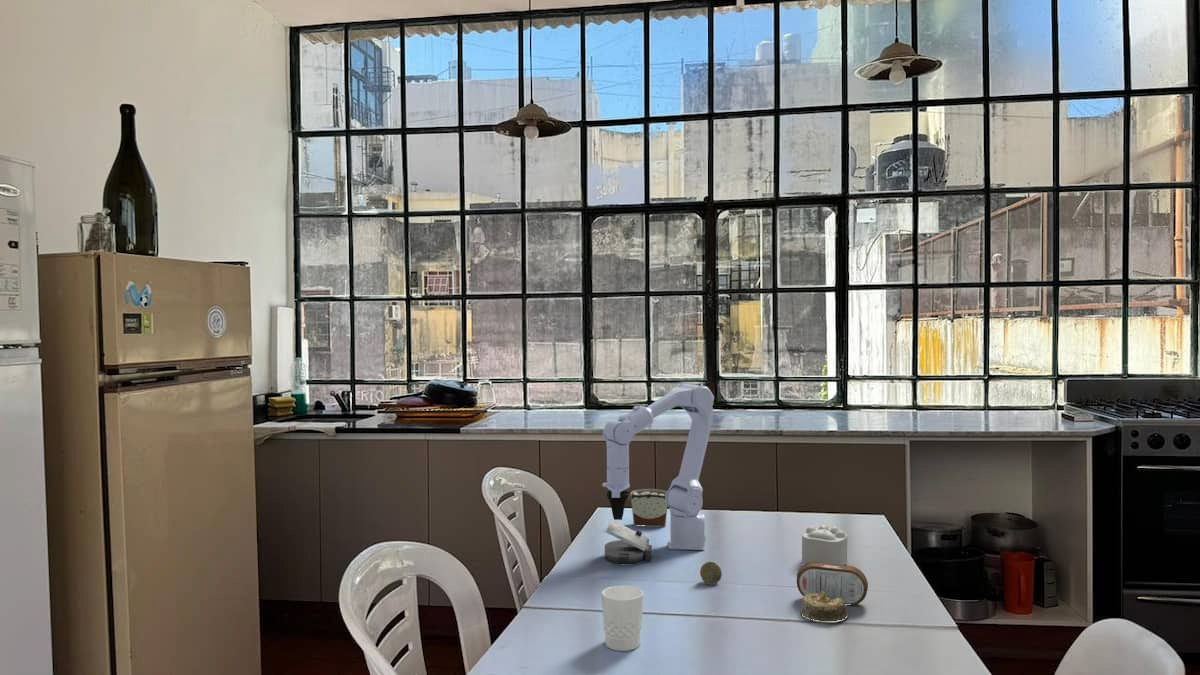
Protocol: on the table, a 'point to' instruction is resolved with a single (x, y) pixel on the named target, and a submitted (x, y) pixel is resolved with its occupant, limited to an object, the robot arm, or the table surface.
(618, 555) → the pot
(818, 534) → the lumpy-topped squat cylinder
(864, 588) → the tin
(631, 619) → the white cup
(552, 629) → the table surface
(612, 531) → the lid
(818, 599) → the cake
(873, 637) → the table surface
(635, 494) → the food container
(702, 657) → the table surface
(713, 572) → the lime
